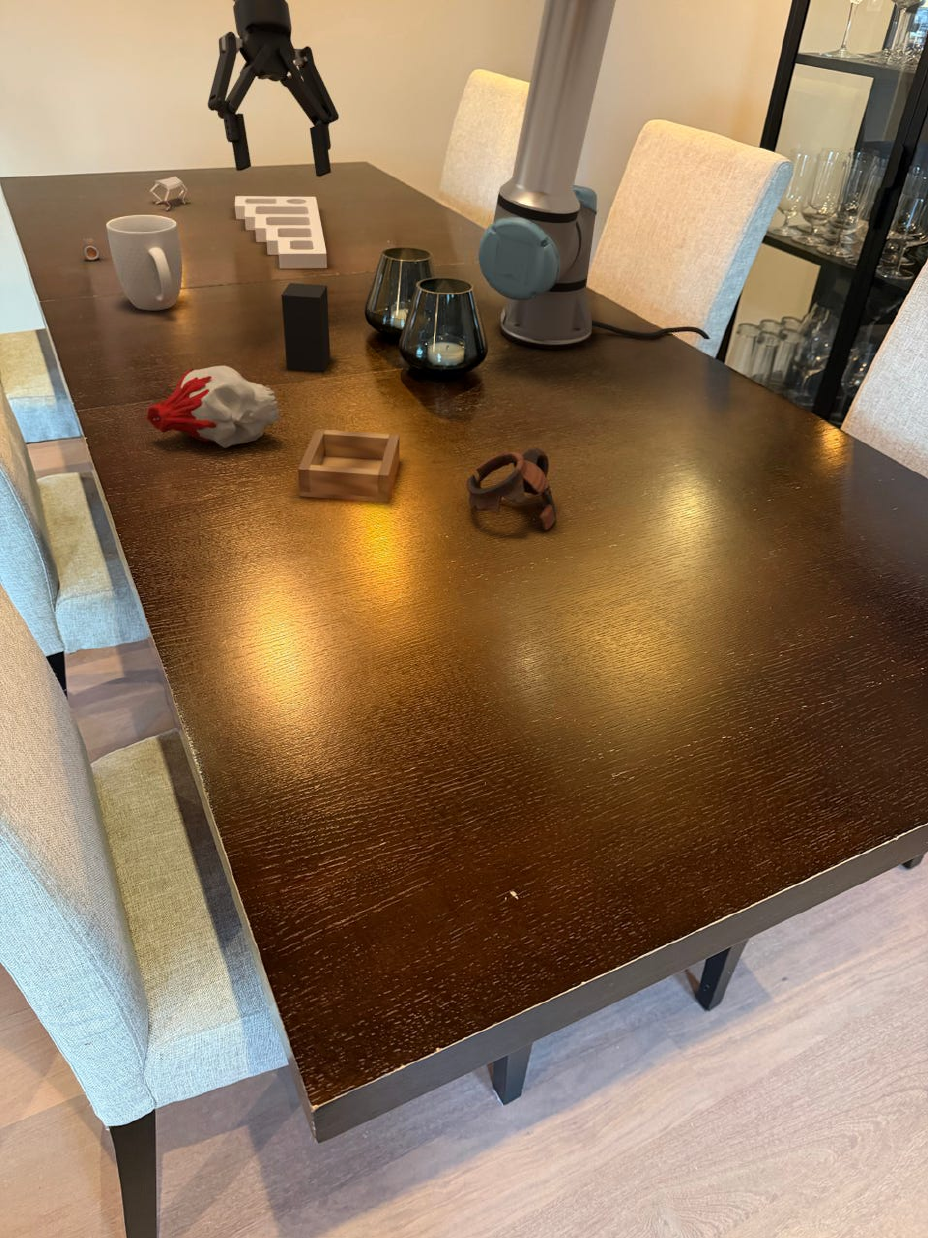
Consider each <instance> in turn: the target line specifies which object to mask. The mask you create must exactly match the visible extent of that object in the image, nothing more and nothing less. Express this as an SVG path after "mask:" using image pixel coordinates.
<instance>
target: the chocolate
mask: <svg viewBox="0 0 928 1238" xmlns="http://www.w3.org/2000/svg"><path fill="white" fill-rule="evenodd" d="M82 240H83V241H84V243H85V245H84V246H83V255H84V256H85V259H86V260H88V261H90V262H93V261H96V260H98V259H99V258H100V256H101V251H99V249H98V248H97V247H96V246H95V245H93V241H94V240H91V238H86V239H85V238H84V237H83V238H82Z"/></svg>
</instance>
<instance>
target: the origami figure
mask: <svg viewBox="0 0 928 1238" xmlns="http://www.w3.org/2000/svg"><path fill="white" fill-rule="evenodd" d="M160 187H163V188H164V189H166V193H165V196H164V199H163V200H162V198H160V197H159V195H157V194H156V193H155V192H156V190H157V189H158V188H160ZM178 187H179V188H180V190H181V191H180V192H179V194H178V195H177V198H179V200H181V201H182V203H183V204H184V205H186V202H185V197H186V196H187V193H188V188H187V187H186V186H185V184H184V183H183V180H181V179H180V178H178V177H177V176H172V177H167V178H163V179H155V184H154V185H153V186H152V187H151V189H149V192H150V194H152V195H153V196H154V197H156V198H157V199H158V201H156V202H155V205H158V204H161V203H162V202H163V201H164V202H165V203H166V205H168V207H166V208H165V211H169V209H170V208H171V204H170V203H169V201H168V198H169V194H170V191H171V190H174V189H176V188H178ZM183 193H184V194H183ZM182 194H183V196H182V197H181V195H182Z"/></svg>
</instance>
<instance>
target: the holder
mask: <svg viewBox="0 0 928 1238" xmlns="http://www.w3.org/2000/svg"><path fill="white" fill-rule="evenodd" d="M234 212H235V213H234V214H235V219H236V220H244V226H245V231H254V232H255V242H256V243H266V251H267V255H270V256H274V255H275V256H276V255H277V256H278V261H279V262H278V263H279V264H278V265H279V269H327V268H328V256H327V249H326V244H325V238H324V232H323V227H322V223H321V217H320V211H319V207H318V201H317V196H270V195H269V196H265V195H264V196H263V195H262V196H260V195H257V196H256V195H255V196H254V195H253V196H252V195H247V196H246V195H235V199H234Z"/></svg>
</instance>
